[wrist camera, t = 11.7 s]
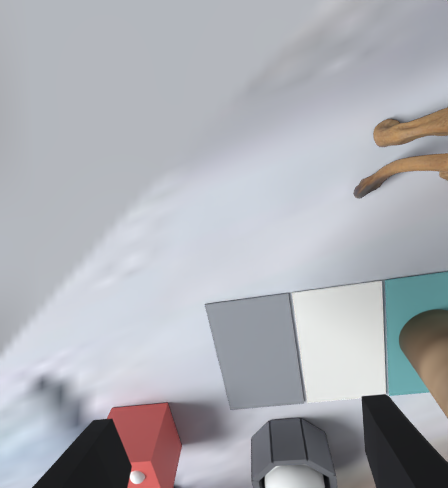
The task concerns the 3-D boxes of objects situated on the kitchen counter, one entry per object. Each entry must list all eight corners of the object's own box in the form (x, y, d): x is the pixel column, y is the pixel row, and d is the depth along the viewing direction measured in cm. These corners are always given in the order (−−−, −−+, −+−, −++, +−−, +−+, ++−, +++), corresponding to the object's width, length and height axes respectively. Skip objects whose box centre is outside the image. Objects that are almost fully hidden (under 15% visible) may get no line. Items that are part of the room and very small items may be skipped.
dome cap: (267, 476, 22) (271, 539, 19) (259, 438, 21) (261, 498, 18) (320, 473, 22) (334, 537, 18) (315, 434, 21) (328, 494, 17)
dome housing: (259, 473, 23) (260, 518, 21) (247, 422, 22) (247, 463, 19) (329, 469, 23) (340, 514, 20) (323, 415, 21) (333, 457, 18)
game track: (230, 408, 21) (230, 409, 21) (205, 304, 19) (204, 305, 19) (472, 387, 19) (473, 388, 19) (481, 266, 17) (483, 267, 17)
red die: (128, 449, 23) (103, 518, 19) (112, 407, 22) (80, 471, 18) (181, 445, 23) (167, 515, 19) (167, 402, 22) (148, 467, 17)
